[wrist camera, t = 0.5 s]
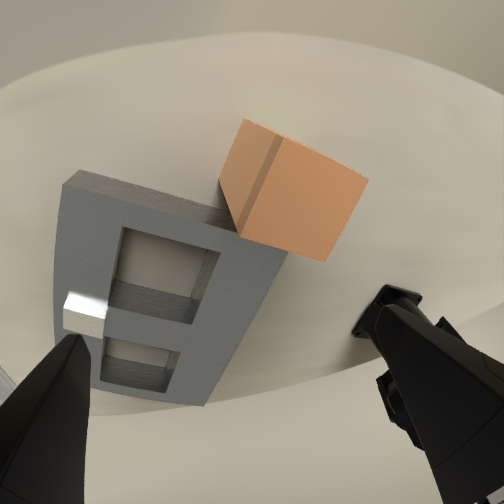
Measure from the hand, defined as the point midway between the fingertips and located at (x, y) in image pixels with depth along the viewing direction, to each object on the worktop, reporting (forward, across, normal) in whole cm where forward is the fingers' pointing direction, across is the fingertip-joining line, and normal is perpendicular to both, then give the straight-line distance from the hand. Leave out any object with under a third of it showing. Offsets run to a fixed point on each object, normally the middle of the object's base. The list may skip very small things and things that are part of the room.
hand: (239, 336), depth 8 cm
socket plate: (+13, +5, +9) cm, 16 cm away
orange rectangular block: (+13, -3, -2) cm, 13 cm away
